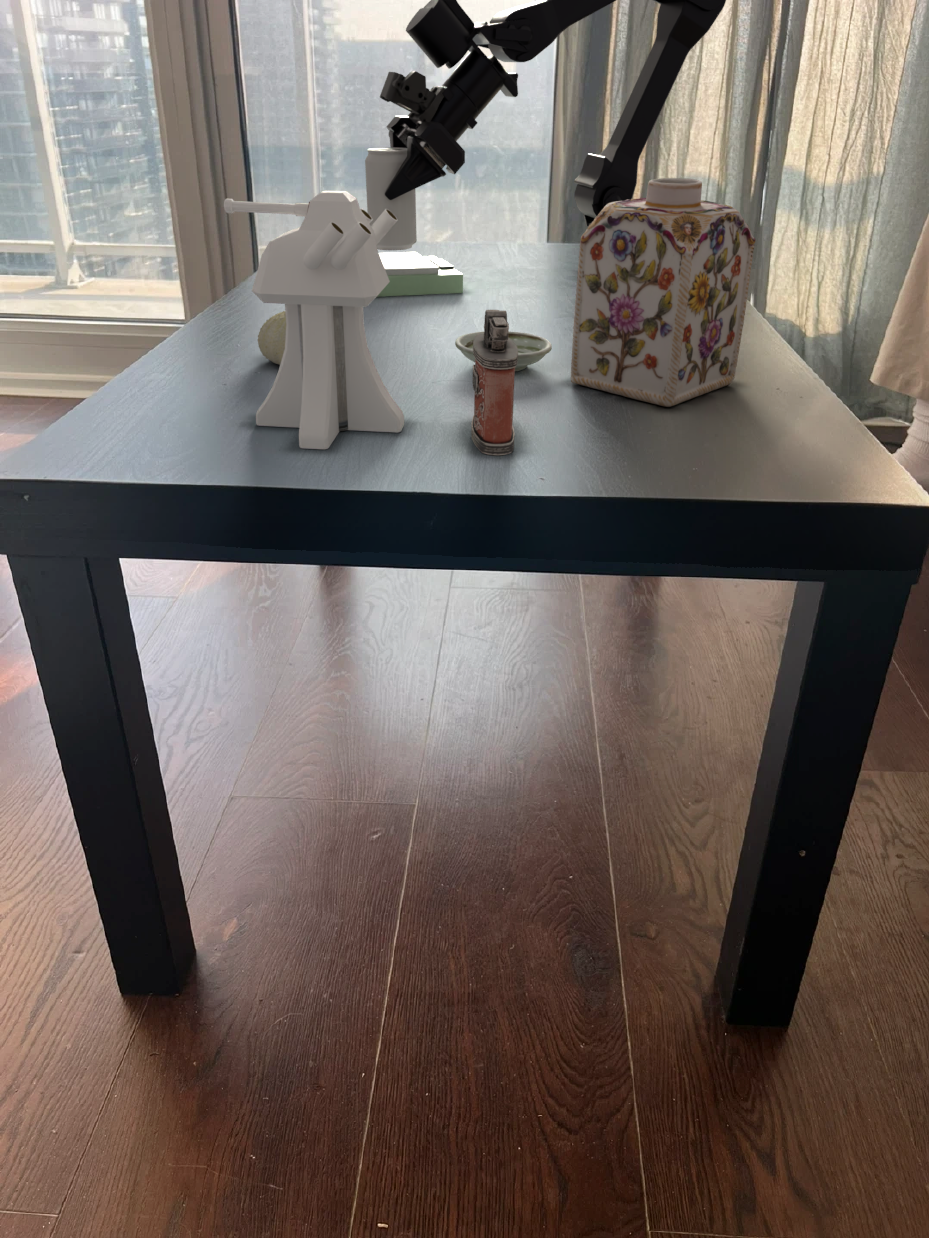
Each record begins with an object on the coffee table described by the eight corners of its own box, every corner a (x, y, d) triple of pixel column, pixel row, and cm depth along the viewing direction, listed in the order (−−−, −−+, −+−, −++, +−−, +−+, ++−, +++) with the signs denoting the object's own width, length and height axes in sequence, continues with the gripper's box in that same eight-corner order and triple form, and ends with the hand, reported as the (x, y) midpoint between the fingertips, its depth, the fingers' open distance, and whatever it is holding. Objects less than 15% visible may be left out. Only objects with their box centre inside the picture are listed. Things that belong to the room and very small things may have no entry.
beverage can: (426, 248, 130) (424, 148, 124) (387, 253, 127) (383, 151, 121) (397, 242, 135) (395, 145, 129) (359, 247, 131) (354, 148, 125)
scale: (434, 273, 141) (434, 250, 139) (462, 293, 129) (463, 267, 128) (324, 277, 137) (323, 253, 135) (343, 298, 125) (342, 272, 124)
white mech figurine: (265, 399, 88) (247, 180, 79) (413, 406, 86) (410, 185, 78) (224, 444, 77) (196, 198, 68) (390, 452, 76) (384, 203, 67)
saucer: (534, 383, 93) (536, 358, 92) (440, 372, 96) (440, 347, 95) (561, 359, 101) (563, 335, 100) (473, 349, 104) (474, 326, 103)
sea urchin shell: (368, 332, 101) (342, 286, 94) (347, 400, 100) (320, 358, 92) (289, 324, 104) (258, 278, 97) (268, 390, 102) (234, 348, 95)
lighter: (467, 422, 83) (469, 301, 78) (506, 422, 83) (511, 301, 78) (476, 455, 76) (479, 324, 71) (519, 455, 76) (525, 324, 71)
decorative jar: (737, 384, 94) (769, 181, 85) (671, 410, 87) (698, 190, 78) (634, 361, 101) (653, 170, 92) (564, 383, 94) (578, 178, 85)
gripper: (400, 46, 128) (322, 141, 131) (439, 45, 113) (349, 153, 115) (457, 113, 134) (381, 203, 137) (502, 121, 118) (415, 222, 121)
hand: (381, 194), depth 127 cm, fingers closed on beverage can, 6 cm apart
